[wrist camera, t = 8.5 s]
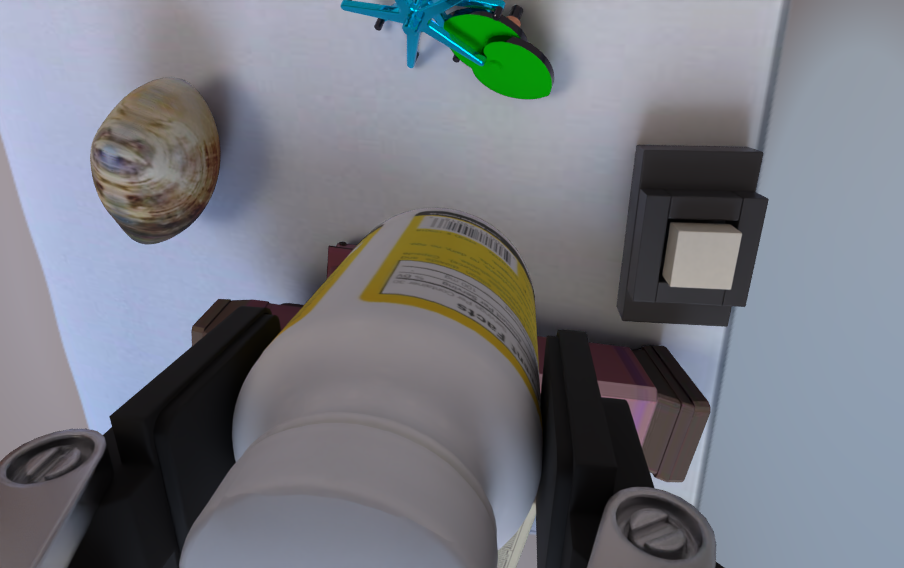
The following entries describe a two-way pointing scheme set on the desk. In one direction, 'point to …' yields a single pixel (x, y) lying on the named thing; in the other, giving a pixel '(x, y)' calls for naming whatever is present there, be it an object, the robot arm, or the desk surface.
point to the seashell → (156, 160)
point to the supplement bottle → (389, 412)
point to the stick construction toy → (472, 40)
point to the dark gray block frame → (688, 201)
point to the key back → (701, 255)
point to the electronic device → (618, 374)
